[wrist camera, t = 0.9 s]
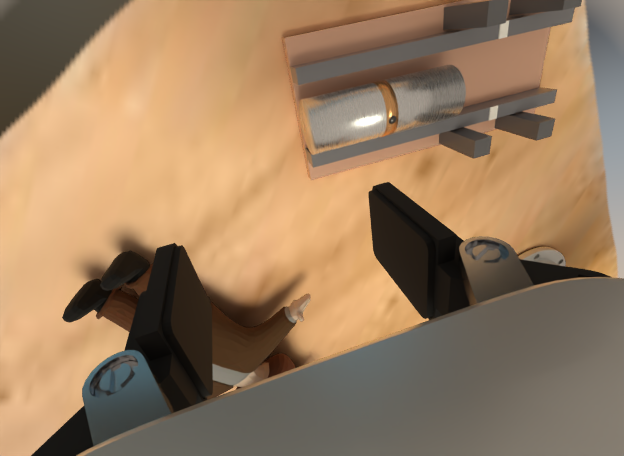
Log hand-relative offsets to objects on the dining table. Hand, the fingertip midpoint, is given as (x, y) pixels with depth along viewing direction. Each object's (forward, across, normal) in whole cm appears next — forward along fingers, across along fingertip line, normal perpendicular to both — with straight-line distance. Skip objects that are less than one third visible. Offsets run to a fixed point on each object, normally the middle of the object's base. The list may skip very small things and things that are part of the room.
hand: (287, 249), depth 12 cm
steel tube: (+19, -12, 0) cm, 22 cm away
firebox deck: (+20, -18, 0) cm, 26 cm away
